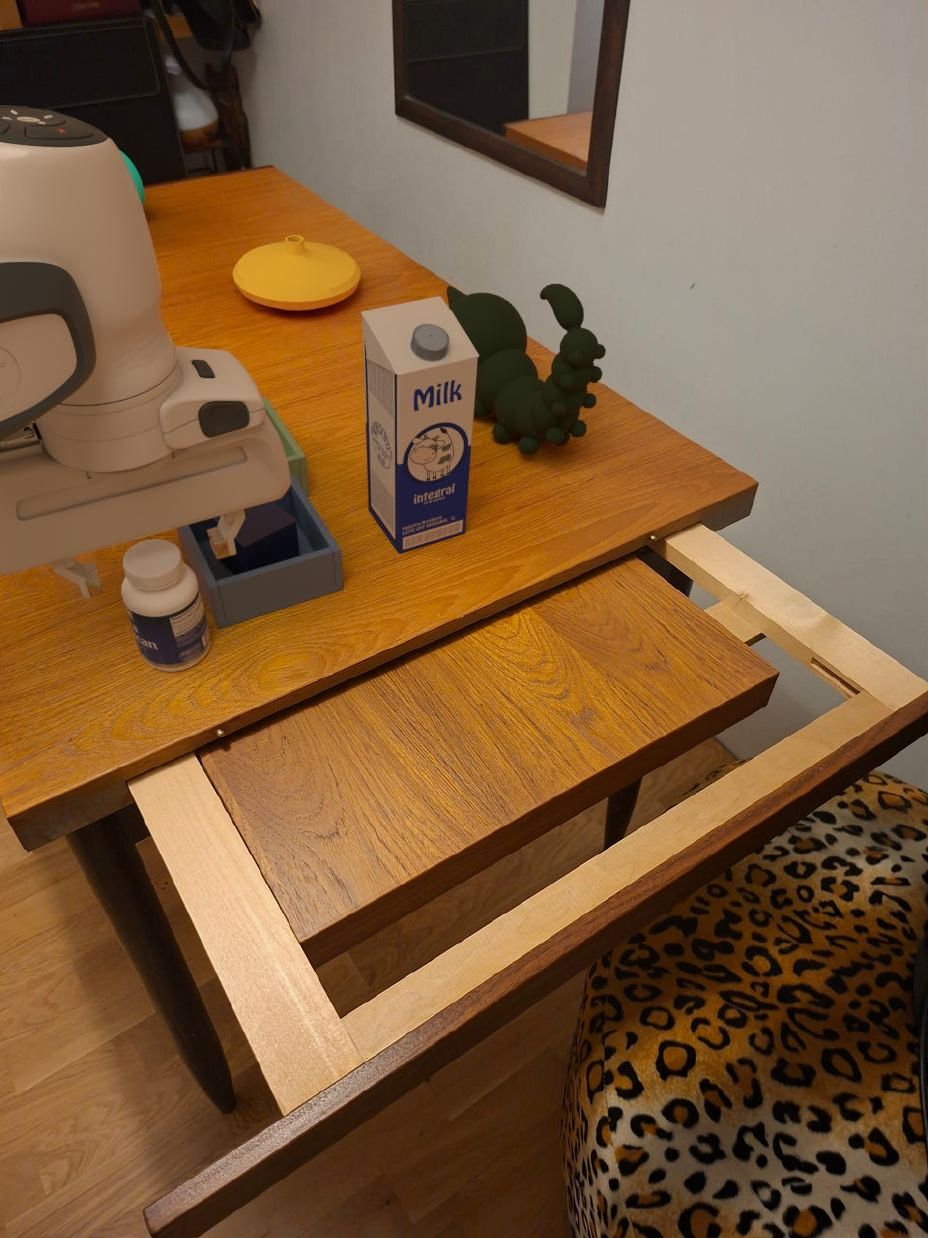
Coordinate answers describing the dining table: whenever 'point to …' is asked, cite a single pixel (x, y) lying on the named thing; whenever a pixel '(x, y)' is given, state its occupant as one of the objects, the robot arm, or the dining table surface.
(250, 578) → the blue bin
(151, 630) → the pill bottle
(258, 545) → the navy block
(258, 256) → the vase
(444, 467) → the milk carton
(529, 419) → the toy figurine
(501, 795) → the dining table surface
